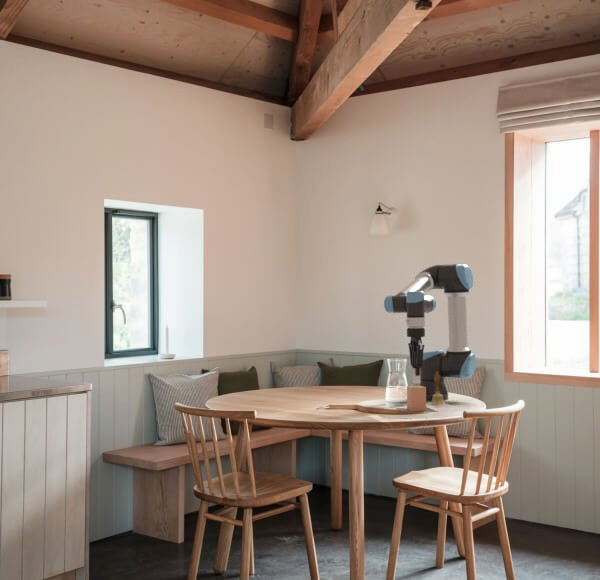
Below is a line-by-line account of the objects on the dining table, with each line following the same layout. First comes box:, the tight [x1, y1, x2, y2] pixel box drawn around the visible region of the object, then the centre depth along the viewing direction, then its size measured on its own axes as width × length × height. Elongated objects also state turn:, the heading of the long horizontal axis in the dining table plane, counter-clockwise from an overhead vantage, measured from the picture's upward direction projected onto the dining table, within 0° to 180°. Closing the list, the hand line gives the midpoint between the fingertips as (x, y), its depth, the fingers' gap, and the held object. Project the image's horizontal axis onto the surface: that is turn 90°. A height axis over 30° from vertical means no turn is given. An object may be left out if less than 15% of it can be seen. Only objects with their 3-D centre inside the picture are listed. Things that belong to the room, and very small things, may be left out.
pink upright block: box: [406, 385, 427, 411], centre depth 334 cm, size 6×6×10 cm
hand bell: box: [430, 371, 446, 406], centre depth 353 cm, size 8×8×16 cm
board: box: [395, 406, 439, 414], centre depth 333 cm, size 14×14×2 cm
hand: (416, 383), depth 334 cm, fingers closed
